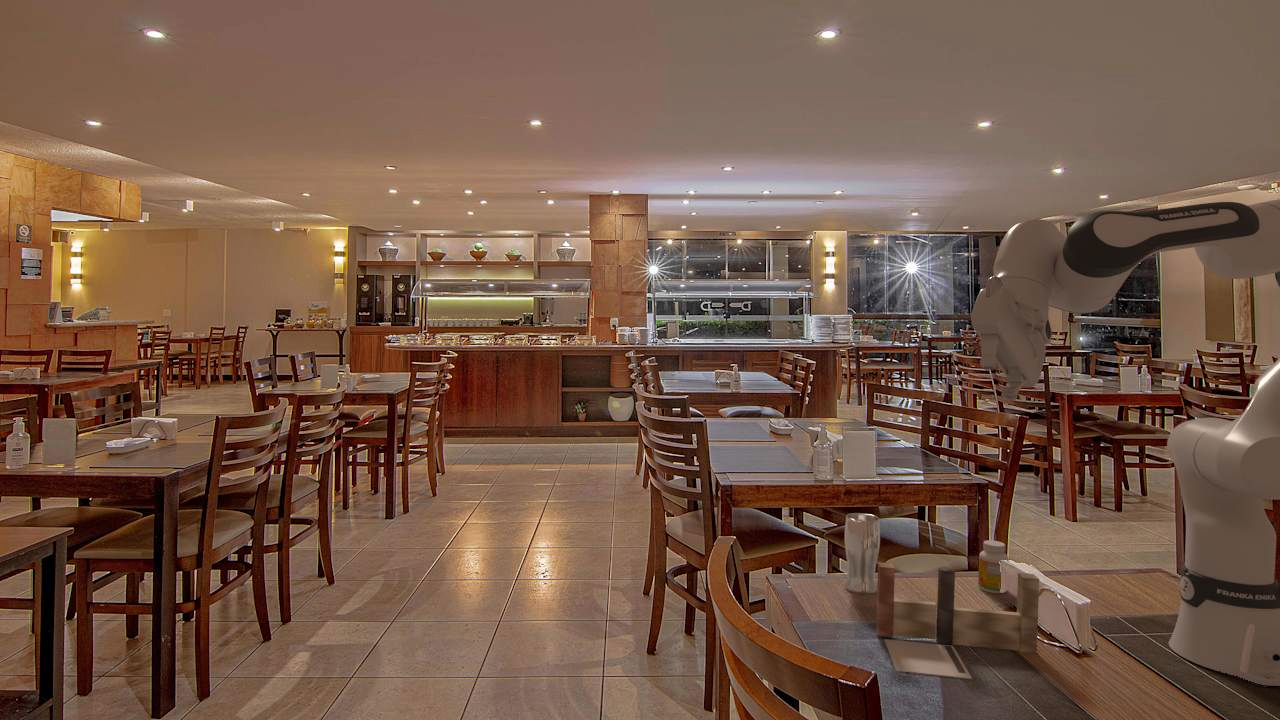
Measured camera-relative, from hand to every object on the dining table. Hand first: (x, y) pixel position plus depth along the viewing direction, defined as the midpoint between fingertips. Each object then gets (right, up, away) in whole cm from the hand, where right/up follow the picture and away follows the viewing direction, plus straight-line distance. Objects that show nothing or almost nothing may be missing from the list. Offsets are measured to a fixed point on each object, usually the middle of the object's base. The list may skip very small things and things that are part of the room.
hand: (998, 383), depth 102 cm
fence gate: (-9, -44, +14) cm, 47 cm away
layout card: (-8, -45, +7) cm, 46 cm away
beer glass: (-9, -44, +37) cm, 58 cm away
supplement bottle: (+19, -44, +37) cm, 61 cm away
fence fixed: (+4, -45, +12) cm, 47 cm away
